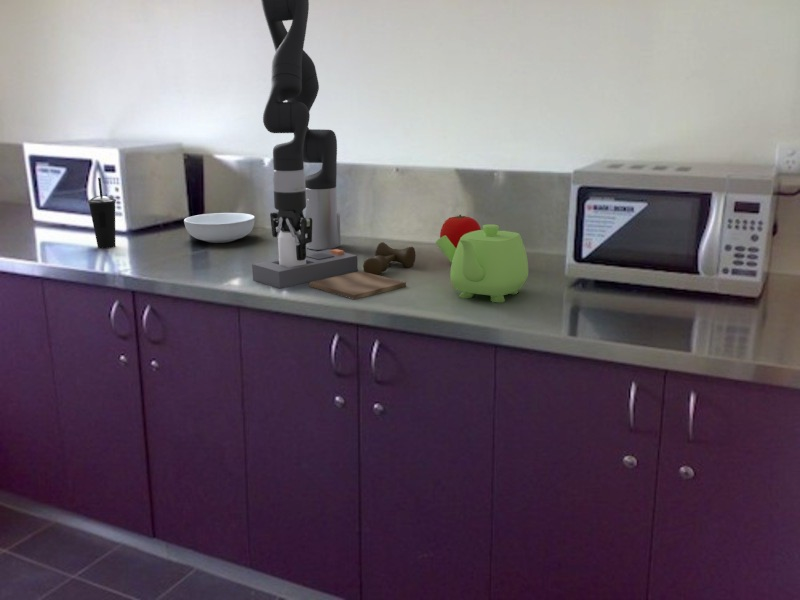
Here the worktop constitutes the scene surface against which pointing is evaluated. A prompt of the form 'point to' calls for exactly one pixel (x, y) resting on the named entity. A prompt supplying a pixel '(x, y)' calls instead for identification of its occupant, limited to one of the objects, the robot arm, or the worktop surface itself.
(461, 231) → the tomato
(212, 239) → the serving bowl
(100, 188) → the drinking cup
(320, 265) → the grey block with hole
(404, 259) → the kendama
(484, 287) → the teapot
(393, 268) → the worktop surface
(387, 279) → the walnut board
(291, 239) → the can
